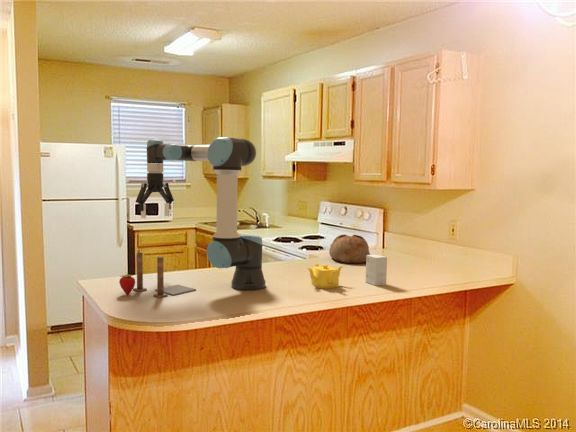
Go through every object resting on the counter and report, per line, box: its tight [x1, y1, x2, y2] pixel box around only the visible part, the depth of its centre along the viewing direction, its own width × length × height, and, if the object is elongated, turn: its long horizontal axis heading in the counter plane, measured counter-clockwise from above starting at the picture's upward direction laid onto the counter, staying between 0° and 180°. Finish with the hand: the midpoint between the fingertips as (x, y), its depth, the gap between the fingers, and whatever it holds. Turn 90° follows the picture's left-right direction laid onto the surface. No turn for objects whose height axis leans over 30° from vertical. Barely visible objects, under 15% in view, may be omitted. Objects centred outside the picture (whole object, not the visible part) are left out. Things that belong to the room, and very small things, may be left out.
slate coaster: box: [154, 284, 197, 296], centre depth 212 cm, size 12×12×1 cm
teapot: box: [306, 262, 344, 290], centre depth 227 cm, size 15×14×10 cm
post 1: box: [132, 252, 148, 293], centre depth 210 cm, size 4×4×16 cm
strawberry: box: [119, 270, 136, 296], centre depth 203 cm, size 6×8×10 cm
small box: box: [365, 254, 388, 287], centre depth 233 cm, size 8×6×13 cm
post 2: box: [152, 256, 169, 299], centre depth 202 cm, size 4×4×16 cm
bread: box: [328, 234, 371, 264], centre depth 291 cm, size 26×23×15 cm
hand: (155, 217), depth 240 cm, fingers open, 13 cm apart
